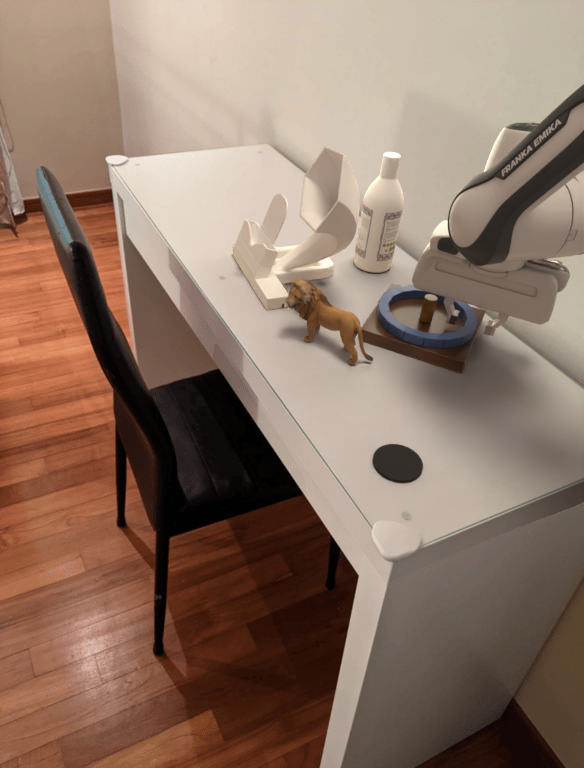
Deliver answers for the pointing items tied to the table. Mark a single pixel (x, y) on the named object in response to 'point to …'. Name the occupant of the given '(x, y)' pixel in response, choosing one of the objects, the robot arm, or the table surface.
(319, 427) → the table surface
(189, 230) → the table surface
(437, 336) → the ring
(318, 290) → the lion figurine
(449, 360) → the platform
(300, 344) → the table surface
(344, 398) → the table surface
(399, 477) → the mat
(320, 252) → the jewelry stand
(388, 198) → the bath foam
